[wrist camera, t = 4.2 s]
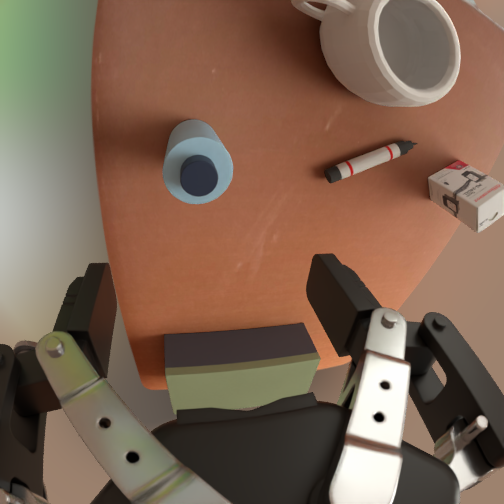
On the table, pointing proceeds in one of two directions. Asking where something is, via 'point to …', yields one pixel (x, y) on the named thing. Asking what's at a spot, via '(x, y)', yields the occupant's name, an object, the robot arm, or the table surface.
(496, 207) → the ink box
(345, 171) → the marker
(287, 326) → the lidded gift box
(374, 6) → the mug
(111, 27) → the table surface
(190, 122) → the water bottle
